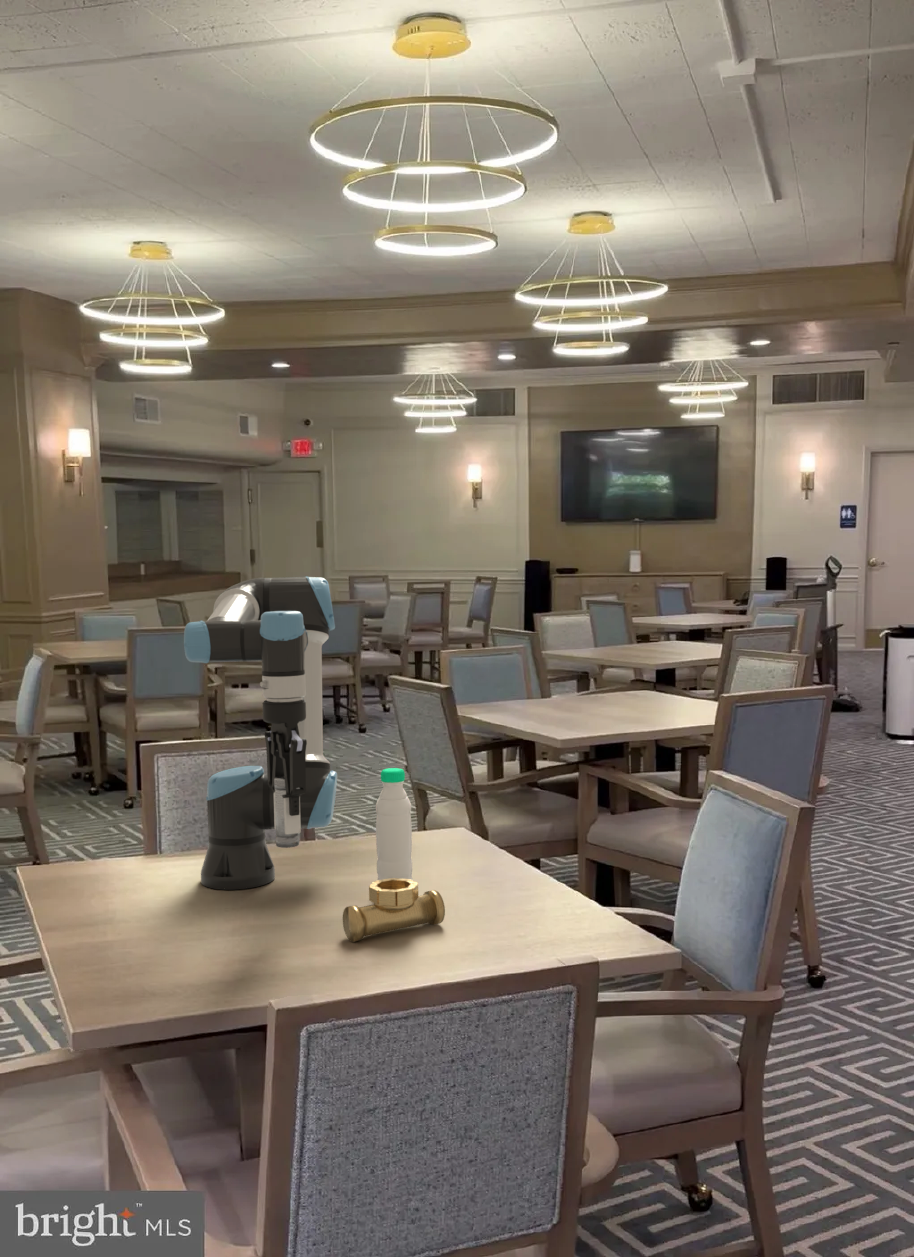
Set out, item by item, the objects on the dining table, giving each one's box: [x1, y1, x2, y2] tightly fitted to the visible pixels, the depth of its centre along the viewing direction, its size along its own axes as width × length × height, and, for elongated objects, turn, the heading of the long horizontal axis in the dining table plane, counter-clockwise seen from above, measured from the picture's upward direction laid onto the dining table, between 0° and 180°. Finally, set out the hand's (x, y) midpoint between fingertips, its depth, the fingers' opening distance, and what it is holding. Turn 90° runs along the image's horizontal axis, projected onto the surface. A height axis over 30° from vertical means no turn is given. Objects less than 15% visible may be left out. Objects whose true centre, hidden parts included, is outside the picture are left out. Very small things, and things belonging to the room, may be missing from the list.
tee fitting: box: [342, 878, 446, 943], centre depth 202 cm, size 17×8×8 cm, turn 122°
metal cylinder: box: [274, 776, 300, 849], centre depth 201 cm, size 4×4×12 cm
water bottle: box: [375, 767, 413, 881], centre depth 224 cm, size 7×7×25 cm
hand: (287, 830), depth 201 cm, fingers closed on metal cylinder, 4 cm apart
